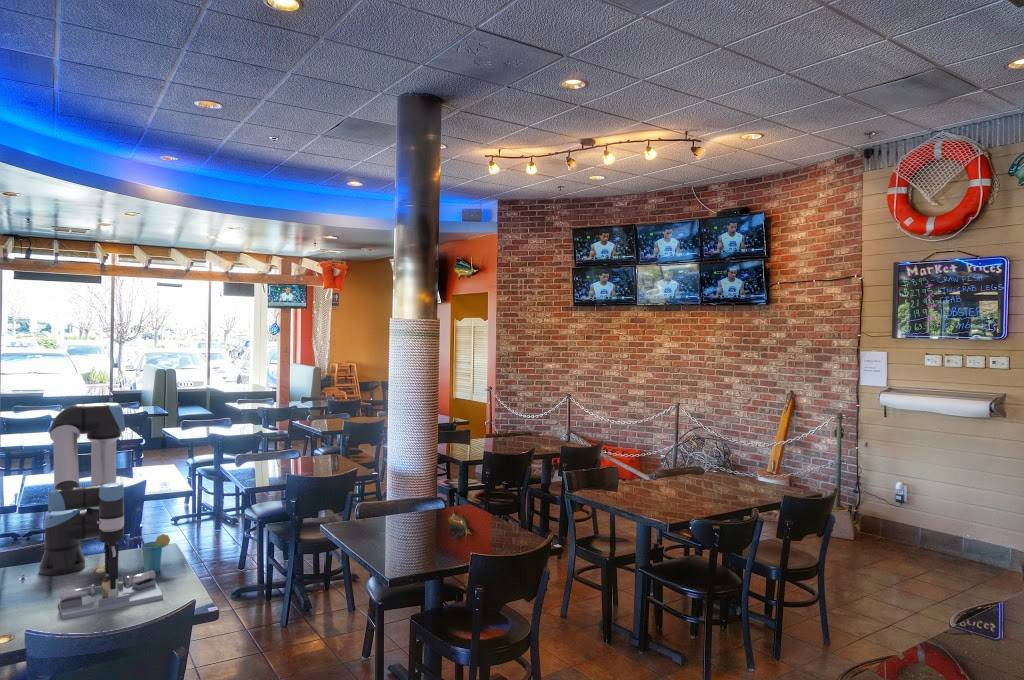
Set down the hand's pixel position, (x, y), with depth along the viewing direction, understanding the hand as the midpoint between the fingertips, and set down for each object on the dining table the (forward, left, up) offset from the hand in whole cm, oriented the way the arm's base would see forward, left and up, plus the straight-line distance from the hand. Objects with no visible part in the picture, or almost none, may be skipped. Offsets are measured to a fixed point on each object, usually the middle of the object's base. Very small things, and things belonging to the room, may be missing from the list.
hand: (111, 594), depth 243 cm
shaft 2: (-4, +9, -1) cm, 10 cm away
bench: (0, 0, -2) cm, 2 cm away
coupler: (0, 0, -1) cm, 1 cm away
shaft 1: (0, -10, +1) cm, 10 cm away
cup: (-23, +16, -3) cm, 28 cm away
